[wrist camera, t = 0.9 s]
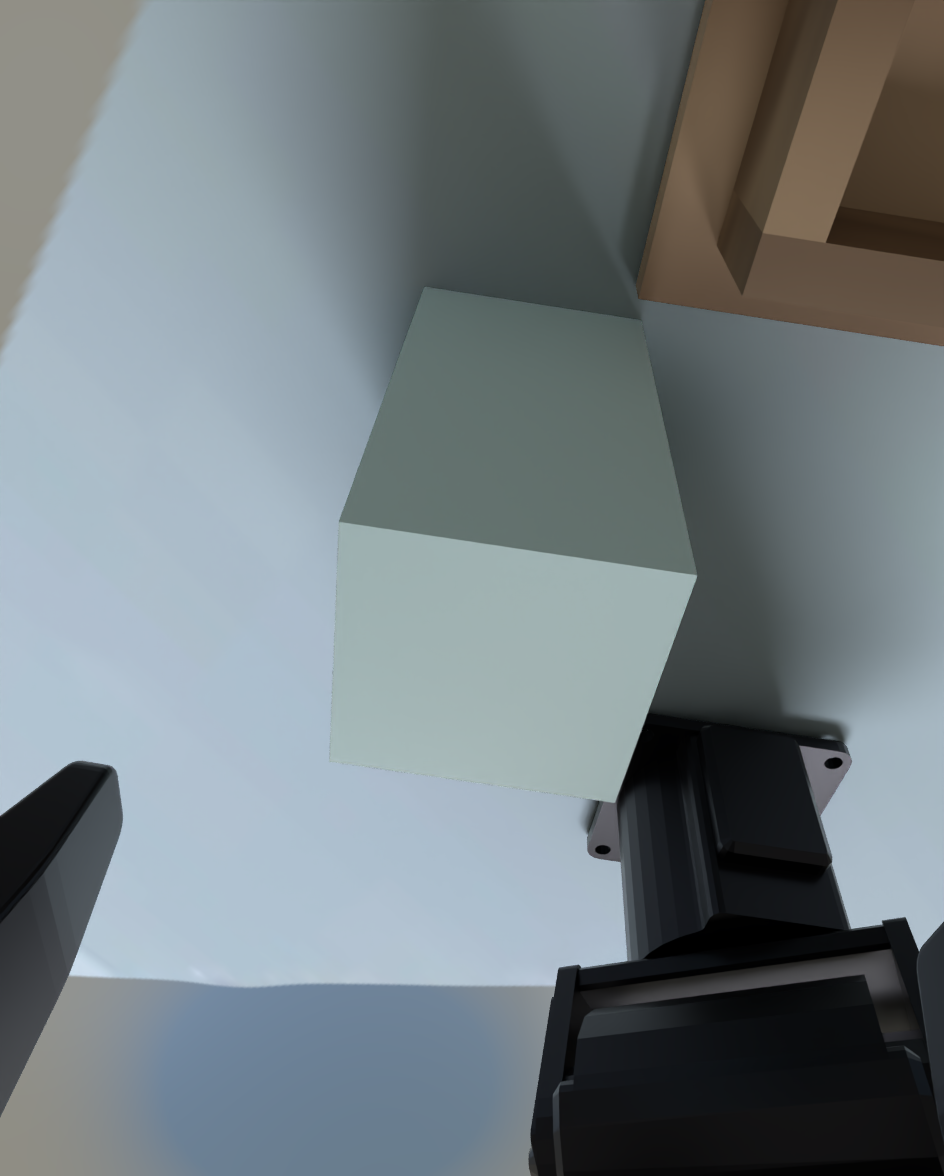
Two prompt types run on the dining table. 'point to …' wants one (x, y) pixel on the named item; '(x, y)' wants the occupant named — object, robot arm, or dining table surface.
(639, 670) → the painted peg
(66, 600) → the dining table surface
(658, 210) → the walnut socket
